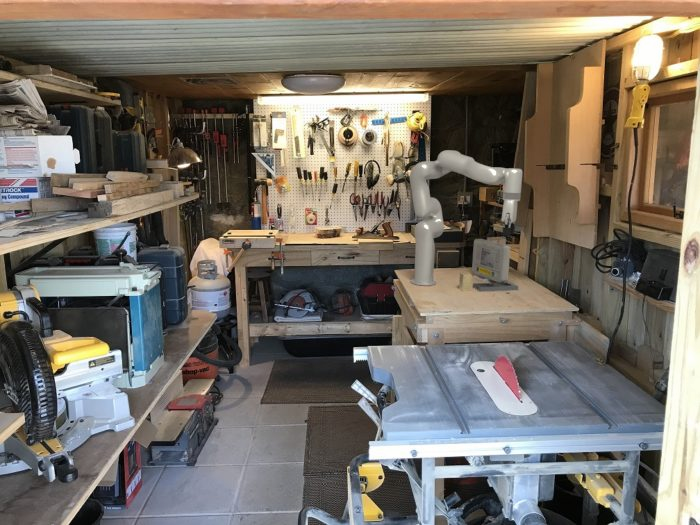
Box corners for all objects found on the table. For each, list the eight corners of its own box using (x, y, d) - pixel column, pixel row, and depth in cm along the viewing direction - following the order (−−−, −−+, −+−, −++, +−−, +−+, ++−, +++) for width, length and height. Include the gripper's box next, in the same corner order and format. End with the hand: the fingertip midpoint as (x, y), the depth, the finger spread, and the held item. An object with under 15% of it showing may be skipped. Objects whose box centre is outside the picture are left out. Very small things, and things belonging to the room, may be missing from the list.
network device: (510, 285, 273) (514, 246, 269) (496, 286, 270) (499, 246, 266) (480, 274, 297) (483, 238, 293) (467, 275, 293) (469, 238, 289)
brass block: (459, 289, 264) (460, 272, 262) (466, 288, 265) (467, 272, 263) (462, 291, 260) (463, 274, 258) (470, 290, 261) (471, 274, 259)
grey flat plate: (472, 287, 268) (472, 283, 267) (509, 286, 272) (510, 282, 272) (479, 291, 260) (480, 287, 260) (517, 290, 264) (518, 286, 264)
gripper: (506, 195, 250) (503, 232, 254) (498, 197, 235) (495, 236, 238) (523, 196, 247) (520, 233, 250) (516, 198, 232) (513, 238, 235)
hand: (508, 235), depth 244 cm, fingers open, 9 cm apart
